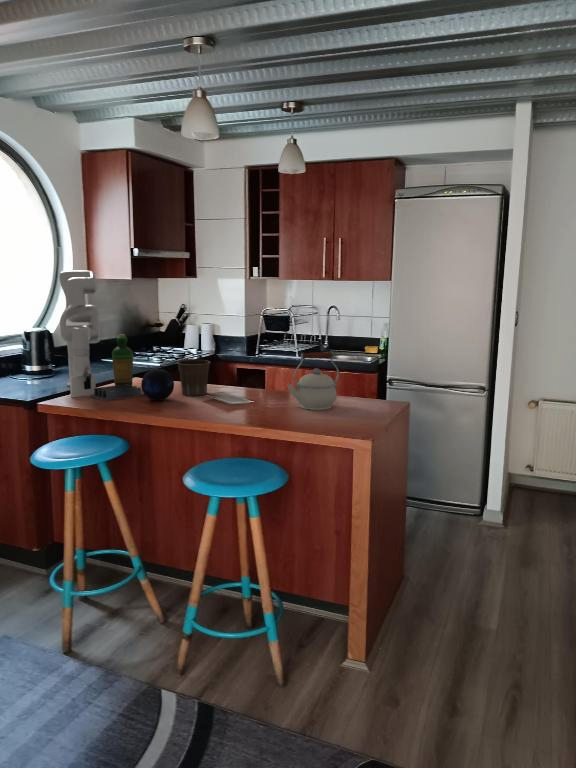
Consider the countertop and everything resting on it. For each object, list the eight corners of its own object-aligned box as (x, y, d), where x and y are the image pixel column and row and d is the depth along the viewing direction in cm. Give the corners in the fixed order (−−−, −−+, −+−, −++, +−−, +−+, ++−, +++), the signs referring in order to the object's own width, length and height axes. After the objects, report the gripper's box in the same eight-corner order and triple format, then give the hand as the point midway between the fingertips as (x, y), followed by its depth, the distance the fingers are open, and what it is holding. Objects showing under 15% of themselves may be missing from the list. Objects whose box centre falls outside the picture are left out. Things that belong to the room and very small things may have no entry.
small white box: (70, 396, 302) (69, 376, 300) (94, 393, 310) (93, 373, 308) (72, 397, 301) (71, 376, 299) (95, 394, 309) (94, 374, 307)
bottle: (109, 389, 321) (106, 335, 316) (120, 386, 331) (118, 333, 326) (127, 390, 318) (125, 335, 313) (138, 387, 328) (136, 334, 323)
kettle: (329, 401, 296) (330, 349, 291) (346, 409, 279) (348, 354, 275) (279, 405, 287) (280, 351, 283) (294, 413, 270) (295, 356, 266)
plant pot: (205, 397, 303) (204, 364, 300) (173, 396, 305) (172, 363, 302) (214, 391, 318) (214, 360, 315) (183, 390, 321) (183, 359, 318)
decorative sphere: (138, 403, 288) (137, 371, 285) (145, 397, 302) (144, 366, 300) (171, 403, 288) (171, 371, 286) (176, 397, 303) (175, 366, 300)
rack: (90, 396, 303) (89, 388, 302) (130, 391, 317) (130, 383, 317) (103, 401, 293) (103, 392, 292) (145, 395, 307) (145, 387, 307)
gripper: (66, 351, 305) (67, 386, 308) (82, 355, 293) (83, 391, 296) (80, 350, 310) (82, 384, 313) (96, 354, 298) (98, 389, 301)
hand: (83, 387), depth 305 cm, fingers open, 9 cm apart
